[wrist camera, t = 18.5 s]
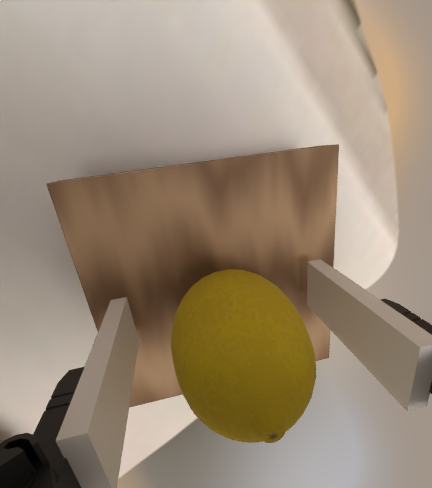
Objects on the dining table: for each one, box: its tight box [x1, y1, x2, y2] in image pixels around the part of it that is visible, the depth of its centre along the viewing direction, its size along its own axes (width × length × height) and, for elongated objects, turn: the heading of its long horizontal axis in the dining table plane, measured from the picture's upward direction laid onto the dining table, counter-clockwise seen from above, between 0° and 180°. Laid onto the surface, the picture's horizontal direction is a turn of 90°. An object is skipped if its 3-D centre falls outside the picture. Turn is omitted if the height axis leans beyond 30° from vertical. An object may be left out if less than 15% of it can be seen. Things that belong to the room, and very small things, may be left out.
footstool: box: [47, 145, 339, 407], centre depth 17 cm, size 14×4×14 cm
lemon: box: [171, 269, 316, 443], centre depth 11 cm, size 6×6×8 cm
